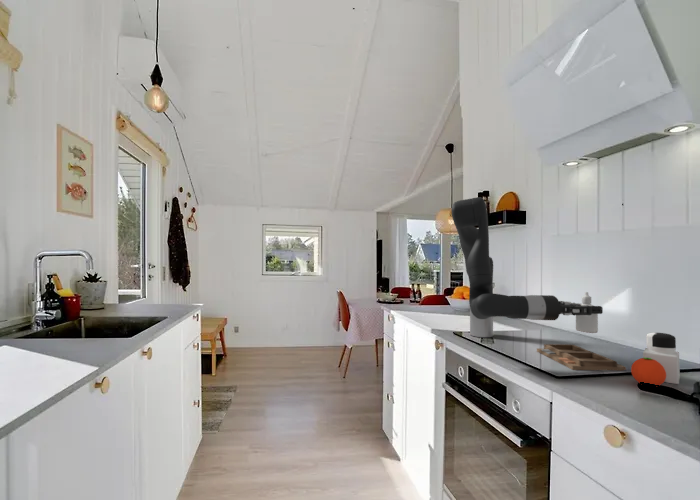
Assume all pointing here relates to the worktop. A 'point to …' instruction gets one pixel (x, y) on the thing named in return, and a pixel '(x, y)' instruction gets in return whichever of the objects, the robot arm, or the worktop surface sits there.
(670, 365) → the medicine bottle
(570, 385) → the worktop surface
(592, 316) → the eye dropper bottle
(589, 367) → the wooden compartment tray
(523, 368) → the worktop surface
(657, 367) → the clementine
